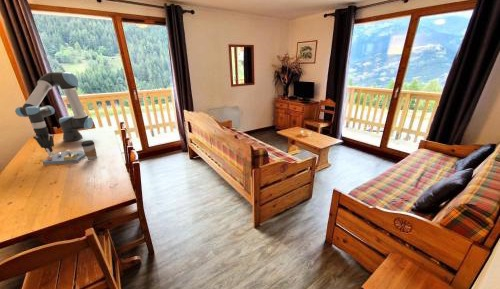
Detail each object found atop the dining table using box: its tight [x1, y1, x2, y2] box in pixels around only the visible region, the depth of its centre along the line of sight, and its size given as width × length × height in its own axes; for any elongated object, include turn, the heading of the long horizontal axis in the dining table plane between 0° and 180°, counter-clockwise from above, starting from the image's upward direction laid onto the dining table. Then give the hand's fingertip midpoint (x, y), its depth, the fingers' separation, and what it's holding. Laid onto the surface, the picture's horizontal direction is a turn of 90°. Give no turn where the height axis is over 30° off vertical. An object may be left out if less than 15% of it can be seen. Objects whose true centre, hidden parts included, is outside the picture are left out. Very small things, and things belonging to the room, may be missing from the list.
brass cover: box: [63, 154, 78, 161], centre depth 162 cm, size 6×6×4 cm
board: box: [42, 150, 87, 166], centre depth 169 cm, size 17×24×2 cm
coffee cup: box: [80, 139, 98, 162], centre depth 166 cm, size 8×8×15 cm
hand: (51, 155), depth 166 cm, fingers closed
